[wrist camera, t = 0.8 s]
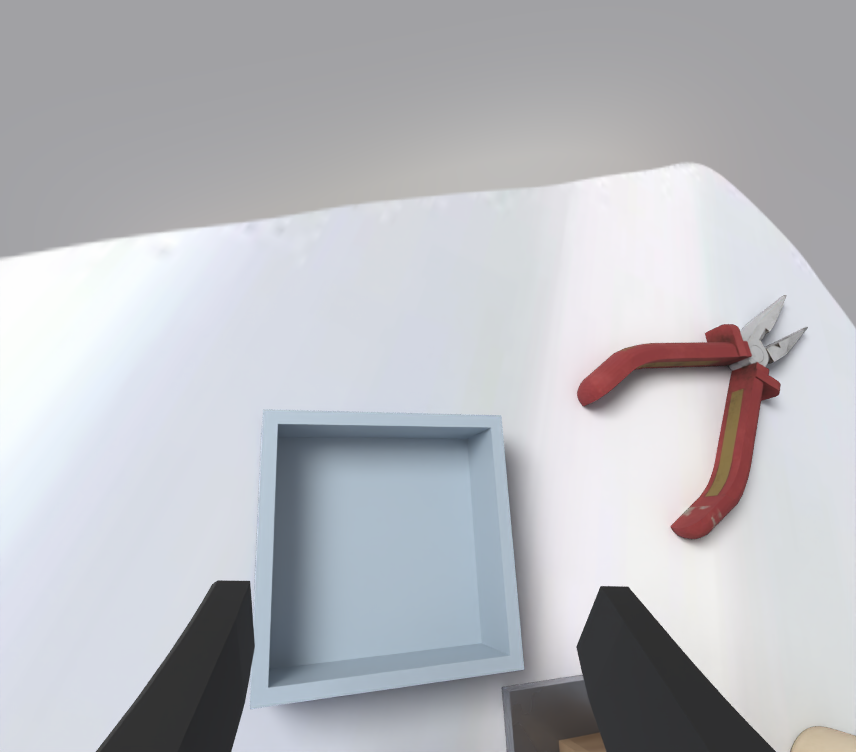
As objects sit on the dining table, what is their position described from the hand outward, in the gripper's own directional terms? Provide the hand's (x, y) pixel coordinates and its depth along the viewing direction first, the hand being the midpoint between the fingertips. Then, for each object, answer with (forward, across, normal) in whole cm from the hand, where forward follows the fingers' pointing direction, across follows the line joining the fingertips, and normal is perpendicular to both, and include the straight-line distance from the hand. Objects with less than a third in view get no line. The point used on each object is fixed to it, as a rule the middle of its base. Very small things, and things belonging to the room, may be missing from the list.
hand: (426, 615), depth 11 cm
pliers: (+21, -22, +7) cm, 31 cm away
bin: (+11, +1, +10) cm, 15 cm away
